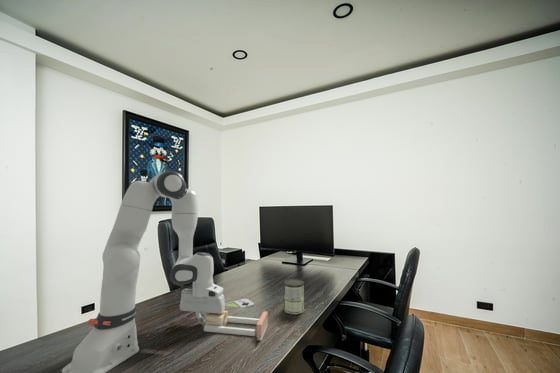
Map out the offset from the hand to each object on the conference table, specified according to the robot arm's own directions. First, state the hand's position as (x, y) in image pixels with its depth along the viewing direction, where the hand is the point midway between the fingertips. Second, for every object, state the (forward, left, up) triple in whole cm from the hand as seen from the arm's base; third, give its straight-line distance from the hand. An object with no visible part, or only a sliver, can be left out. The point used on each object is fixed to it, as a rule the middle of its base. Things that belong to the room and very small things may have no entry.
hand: (201, 321), depth 105 cm
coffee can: (+24, -39, -2) cm, 46 cm away
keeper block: (0, -7, -1) cm, 7 cm away
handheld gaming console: (+24, -9, -3) cm, 26 cm away
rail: (0, -16, -2) cm, 16 cm away
